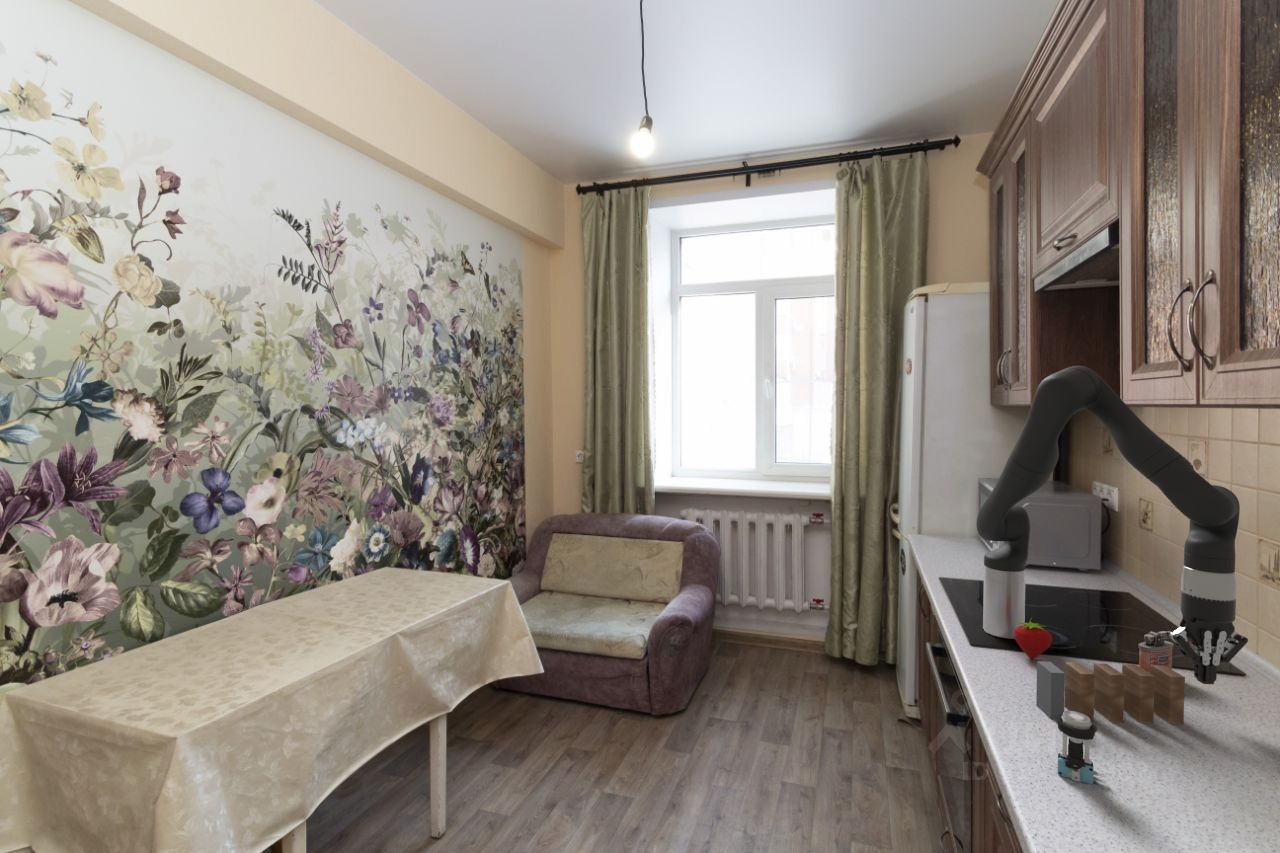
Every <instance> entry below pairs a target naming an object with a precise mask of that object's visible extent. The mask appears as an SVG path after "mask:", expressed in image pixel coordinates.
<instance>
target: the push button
mask: <svg viewBox="0 0 1280 853" xmlns="http://www.w3.org/2000/svg"><path fill="white" fill-rule="evenodd" d="M1055 721H1056V723H1057V728H1058V730H1059V732H1061V733H1062V742H1061V744H1062V746H1061V748H1062V750H1061V751H1060V752H1059V753H1057V774H1058V775H1059V776H1061V777H1064V778H1065V777H1066V778H1068V779H1071V780H1072V781H1076V782H1083V783H1087V784H1090V785H1093V784H1094V781H1095V782H1101V783H1104V784H1107V780H1106V778H1107V774H1105V773H1103V772H1098V771H1097V770H1096V771H1095V770H1094V763H1093V761H1092V759H1090V747H1091V746H1090V744H1091V743H1090V742H1091V740H1093V739H1094V738H1095V736H1096V732H1097V730H1098V727H1097V725H1096V724H1095V722H1093V721H1090V718H1089V717H1087V716H1086V715H1084V714H1082V713H1079V712H1075V711H1069V710H1064V712H1063V714H1060V715H1058V716H1057V717H1056V719H1055ZM1100 777H1103V778H1105V779H1103V778H1100Z"/></svg>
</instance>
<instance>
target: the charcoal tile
mask: <svg viewBox="0 0 1280 853" xmlns="http://www.w3.org/2000/svg"><path fill="white" fill-rule="evenodd" d="M1035 704H1036V707H1037V708H1038V709H1039V710H1041V712H1043V713H1044V714H1045V715H1046V717H1048V718H1049V719H1051V720H1056V717H1057V716H1058V715H1060V714H1063V712H1065V707H1064V706H1065V671H1063V670H1061V669H1060V668H1059V667H1058V666H1057V665H1055V664H1054V663H1053V662H1052V661H1042V660H1041V661H1039V660H1037V662H1036V702H1035Z"/></svg>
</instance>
